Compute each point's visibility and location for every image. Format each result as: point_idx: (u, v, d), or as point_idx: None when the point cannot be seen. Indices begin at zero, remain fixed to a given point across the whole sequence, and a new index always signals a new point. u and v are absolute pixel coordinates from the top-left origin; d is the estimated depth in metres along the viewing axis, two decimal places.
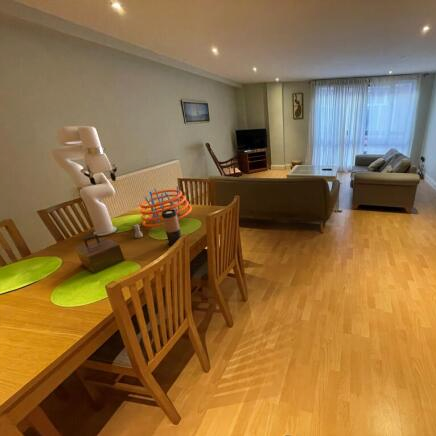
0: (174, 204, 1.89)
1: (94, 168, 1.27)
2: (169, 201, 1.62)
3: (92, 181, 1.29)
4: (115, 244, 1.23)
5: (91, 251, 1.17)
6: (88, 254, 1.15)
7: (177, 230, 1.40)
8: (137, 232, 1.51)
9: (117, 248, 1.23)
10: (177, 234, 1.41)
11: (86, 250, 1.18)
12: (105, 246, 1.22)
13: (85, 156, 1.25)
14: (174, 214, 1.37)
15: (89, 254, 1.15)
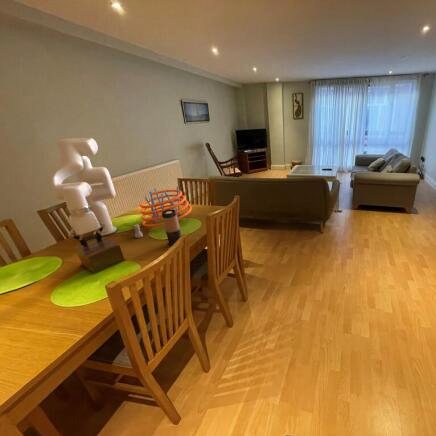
0: (174, 204, 1.89)
1: (80, 229, 1.17)
2: (169, 201, 1.62)
3: (82, 243, 1.20)
4: (115, 244, 1.23)
5: (91, 251, 1.17)
6: (88, 254, 1.15)
7: (177, 230, 1.40)
8: (137, 232, 1.51)
9: (117, 248, 1.23)
10: (177, 234, 1.41)
11: (86, 250, 1.18)
12: (105, 246, 1.22)
13: (70, 218, 1.15)
14: (174, 214, 1.37)
15: (89, 254, 1.15)
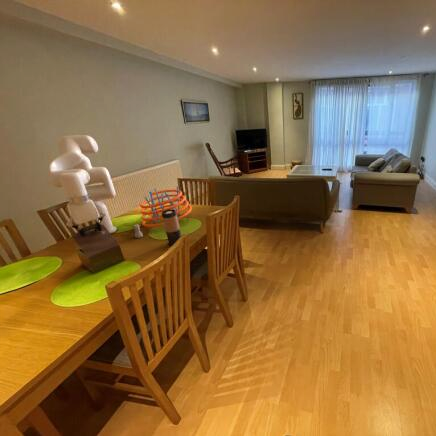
0: (174, 204, 1.89)
1: (79, 218, 1.12)
2: (169, 201, 1.62)
3: (81, 233, 1.15)
4: (115, 243, 1.23)
5: (90, 247, 1.16)
6: (88, 252, 1.14)
7: (177, 230, 1.40)
8: (137, 232, 1.51)
9: (117, 248, 1.23)
10: (177, 234, 1.41)
11: (84, 243, 1.16)
12: (104, 243, 1.20)
13: (68, 206, 1.10)
14: (174, 214, 1.37)
15: (89, 253, 1.14)
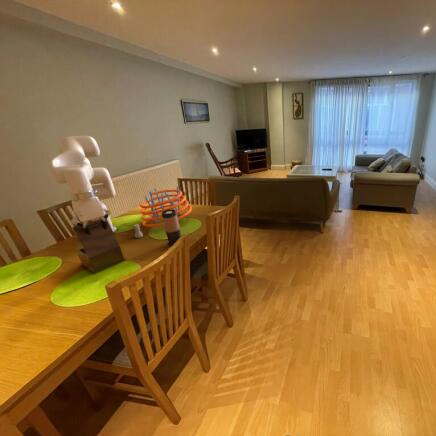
0: (174, 204, 1.89)
1: (84, 216, 1.07)
2: (169, 201, 1.62)
3: (86, 231, 1.10)
4: (116, 242, 1.22)
5: (91, 246, 1.14)
6: (88, 252, 1.13)
7: (177, 230, 1.40)
8: (137, 232, 1.51)
9: (117, 248, 1.23)
10: (177, 234, 1.41)
11: (85, 240, 1.13)
12: (106, 242, 1.19)
13: (73, 202, 1.05)
14: (174, 214, 1.37)
15: (89, 252, 1.13)
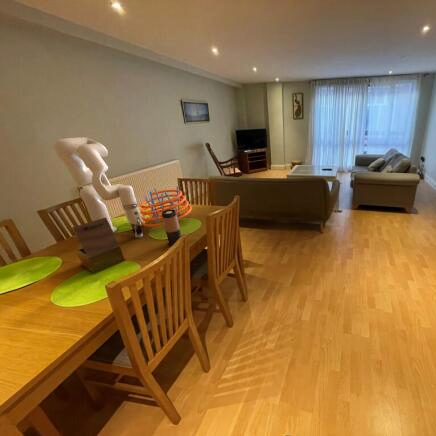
0: (174, 204, 1.89)
1: (127, 219, 1.48)
2: (169, 201, 1.62)
3: None
4: (116, 242, 1.22)
5: (91, 246, 1.14)
6: (88, 252, 1.13)
7: (177, 230, 1.40)
8: None
9: (117, 248, 1.23)
10: (177, 234, 1.41)
11: (85, 240, 1.13)
12: (106, 242, 1.19)
13: None
14: (174, 214, 1.37)
15: (89, 252, 1.13)
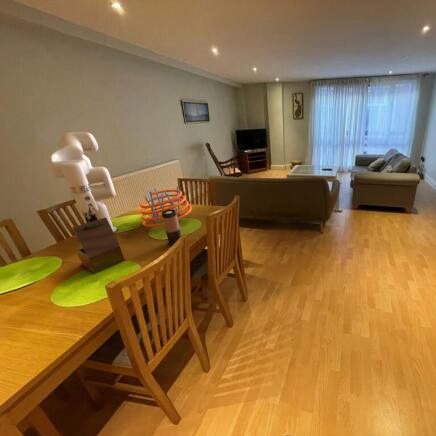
0: (174, 204, 1.89)
1: (78, 206, 1.16)
2: (169, 201, 1.62)
3: (87, 220, 1.20)
4: (116, 242, 1.22)
5: (91, 246, 1.14)
6: (88, 252, 1.13)
7: (177, 230, 1.40)
8: None
9: (117, 248, 1.23)
10: (177, 234, 1.41)
11: (85, 240, 1.13)
12: (106, 242, 1.19)
13: None
14: (174, 214, 1.37)
15: (89, 252, 1.13)
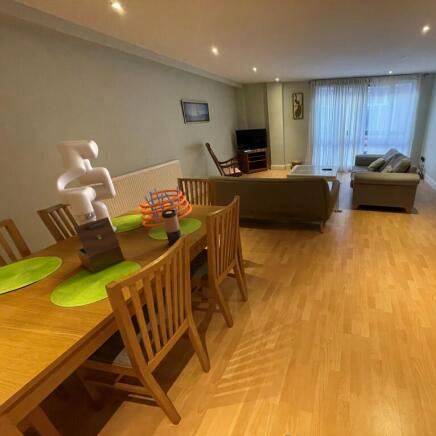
0: (174, 204, 1.89)
1: None
2: (169, 201, 1.62)
3: None
4: (116, 243, 1.22)
5: (92, 246, 1.14)
6: (89, 252, 1.13)
7: (177, 230, 1.40)
8: None
9: (117, 248, 1.23)
10: (177, 234, 1.41)
11: (86, 240, 1.12)
12: (106, 242, 1.19)
13: None
14: (174, 214, 1.37)
15: (90, 253, 1.13)
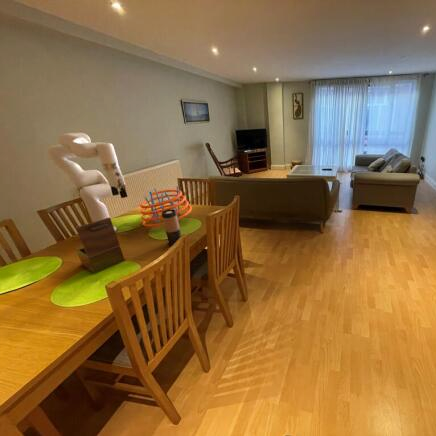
0: (174, 204, 1.89)
1: (108, 181, 1.35)
2: (169, 201, 1.62)
3: None
4: (116, 243, 1.22)
5: (93, 246, 1.14)
6: (89, 252, 1.13)
7: (177, 230, 1.40)
8: None
9: (117, 248, 1.23)
10: (177, 234, 1.41)
11: (87, 241, 1.11)
12: (107, 242, 1.18)
13: None
14: (174, 214, 1.37)
15: (90, 253, 1.13)
